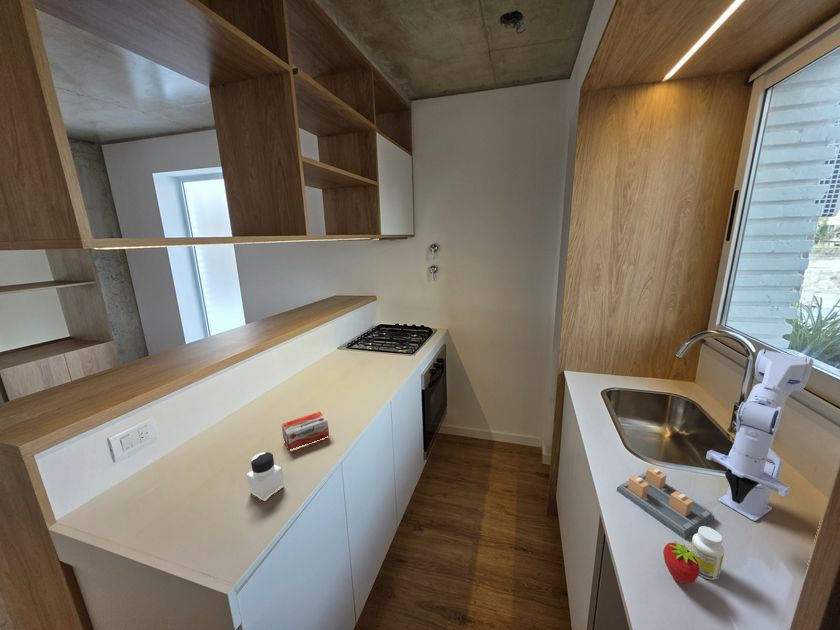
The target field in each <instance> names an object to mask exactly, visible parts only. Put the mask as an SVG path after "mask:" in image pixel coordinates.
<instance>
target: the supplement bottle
mask: <svg viewBox="0 0 840 630" xmlns="http://www.w3.org/2000/svg"><path fill="white" fill-rule="evenodd" d="M722 543H723V536H722V535H721V534H720V532H718V531H717V530H715V529H714V528H712V527H710V526H707V525H706V526H701V527H699V530H698V531H697V532H696V533H694V534H693V535H692V539H691V544H690V549H689V551H690V552H692V553H694V554H695V555H697V556H699V557H700V558H699V557H695V556H694V557H695V558H696V560H697V562H698V564H699V572H700V573H699V577H702V578H704V579H707V580H712V581H715V580H717V579H719V577H720V575H721V569H722V566H723V560H724V556H725V548H724V547H723V545H722Z"/></svg>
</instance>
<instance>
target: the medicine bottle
mask: <svg viewBox="0 0 840 630" xmlns="http://www.w3.org/2000/svg"><path fill="white" fill-rule="evenodd" d="M250 464H251V470H250V471H249V472H248V473H247V474H246V480H247V484H248V490H250V491H251V492H253V493H254V494H256V495H258V496H260V497H261V498H262V499H264V498H266V497H267V496H268V495H270V494H271V493H273V492H274V491H275V490H276V489H278V488H279V487H280V486H282V485H283V484H284V485H285V483H284V476H283V470H282V467H280V466H279V465H276V464H275V461H274V455H273V453H272V452H269V451H267V452H266V451H265V452H261V453H258V454H256V455H254V456H253V458H251V461H250ZM250 491H249V492H250Z"/></svg>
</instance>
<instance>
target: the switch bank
mask: <svg viewBox="0 0 840 630" xmlns="http://www.w3.org/2000/svg"><path fill="white" fill-rule="evenodd" d="M636 476H637V477H639V478H642V479H643V481H645V482H646V483H648V484H649V488H648V494H647V497H645V498H643V499H641V498H640V497H638V496H637V495H635V494H634V493H633V492H631V491H630V490H628V482H629V480H628V481H625V482H623V483H621V484H619V486H617V488H616V492H618V493H620V495H623V496H624V497H625V498H627V500H629V501H630V502H632V503H633V504H634V505H636V506H638V507H639V508H640V509H642V510H643V511H645V513H647V514H648V515H650V516H652V517H653V518H654V519H655V520H657V521H658V522H659V523H661V524H663V525H664V526H665V527H667V528H668V529H669V530H671V531H672V532H674V533H675V534H677V535H678V536H680V537H681V538H682V539H683V540H686V539H688V538H690V536H691V537H692V536H693V535H695V534H696V533H698V530H699V527H701V526H706V527H707V526H708V525H709V524H710V523H712V522H713V521H714V520H715V515H713V511H712V510H710V509H708V508H706V506H703V504H700V503H698V502H697V501H696V500H694V499H692V498H690V497H689V496H687V495H686V497H687V498H688V499H690V500H692V501H693V504H692V509H691V514H690V515H688V516H686V517H685V516H683V515H682V514H680V513H679V512H677V511H676V510H674V509H673V508H671V507H670V506H668V505H669V500H670V494H672V493H674V492H675V491H677V492H679V493H680V494H683V493H682V492H680V490H677V489H676V488H674V487H673V486H671V485H669V483H668V484H667V483H666V482H665V486H664V487H663V488H661V489H658V488H657V487H655V486H654V485H652V484H650V483H649V482H647V481H646V480H645V477H646V472H644V473H641V474H640V475H636Z"/></svg>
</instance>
